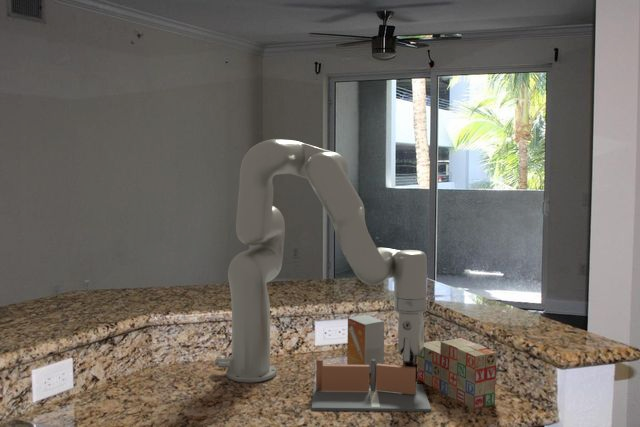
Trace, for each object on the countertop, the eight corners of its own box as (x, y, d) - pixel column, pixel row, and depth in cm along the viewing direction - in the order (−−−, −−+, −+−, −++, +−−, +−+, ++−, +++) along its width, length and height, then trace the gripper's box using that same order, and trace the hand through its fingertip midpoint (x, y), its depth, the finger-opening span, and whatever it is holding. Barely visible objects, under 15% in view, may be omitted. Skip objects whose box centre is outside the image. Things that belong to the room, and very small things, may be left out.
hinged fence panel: (370, 390, 152) (370, 360, 152) (371, 389, 153) (371, 359, 153) (414, 395, 149) (415, 365, 149) (415, 393, 150) (416, 363, 150)
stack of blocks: (416, 380, 162) (416, 331, 161) (436, 376, 165) (437, 328, 164) (474, 410, 143) (475, 355, 142) (495, 405, 146) (497, 351, 145)
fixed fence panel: (316, 391, 152) (316, 361, 151) (316, 388, 154) (316, 359, 153) (369, 391, 152) (369, 361, 151) (368, 389, 153) (368, 359, 153)
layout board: (311, 410, 143) (311, 407, 142) (313, 385, 157) (313, 383, 157) (431, 411, 142) (431, 408, 142) (422, 386, 157) (422, 384, 157)
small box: (346, 365, 172) (346, 317, 171) (366, 361, 176) (366, 314, 174) (364, 374, 165) (364, 324, 164) (384, 370, 169) (385, 320, 168)
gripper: (422, 312, 143) (421, 393, 145) (430, 297, 158) (429, 372, 159) (388, 310, 145) (388, 390, 147) (399, 296, 160) (399, 369, 161)
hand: (409, 380), depth 153 cm, fingers closed
